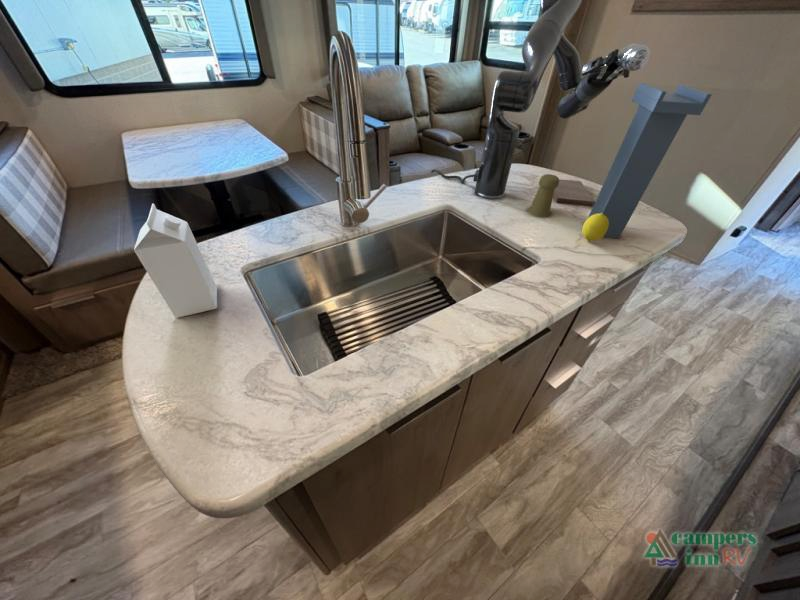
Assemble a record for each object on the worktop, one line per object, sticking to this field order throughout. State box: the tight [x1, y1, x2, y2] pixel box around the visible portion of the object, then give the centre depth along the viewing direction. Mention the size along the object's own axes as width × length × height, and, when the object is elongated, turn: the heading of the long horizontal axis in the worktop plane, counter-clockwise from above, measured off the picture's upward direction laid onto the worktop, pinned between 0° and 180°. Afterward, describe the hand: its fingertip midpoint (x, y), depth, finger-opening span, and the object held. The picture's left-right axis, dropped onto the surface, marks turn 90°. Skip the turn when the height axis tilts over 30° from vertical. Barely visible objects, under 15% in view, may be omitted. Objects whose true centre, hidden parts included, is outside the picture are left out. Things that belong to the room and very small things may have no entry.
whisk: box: [606, 43, 651, 72], centre depth 83 cm, size 21×5×5 cm, turn 170°
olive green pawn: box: [528, 173, 560, 218], centre depth 93 cm, size 6×6×11 cm
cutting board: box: [553, 178, 595, 207], centre depth 108 cm, size 17×11×2 cm, turn 170°
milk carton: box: [133, 203, 218, 319], centre depth 57 cm, size 7×7×19 cm
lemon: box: [581, 213, 609, 242], centre depth 82 cm, size 6×6×8 cm
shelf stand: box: [587, 82, 712, 239], centre depth 78 cm, size 12×9×34 cm
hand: (622, 53), depth 84 cm, fingers closed on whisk, 2 cm apart
